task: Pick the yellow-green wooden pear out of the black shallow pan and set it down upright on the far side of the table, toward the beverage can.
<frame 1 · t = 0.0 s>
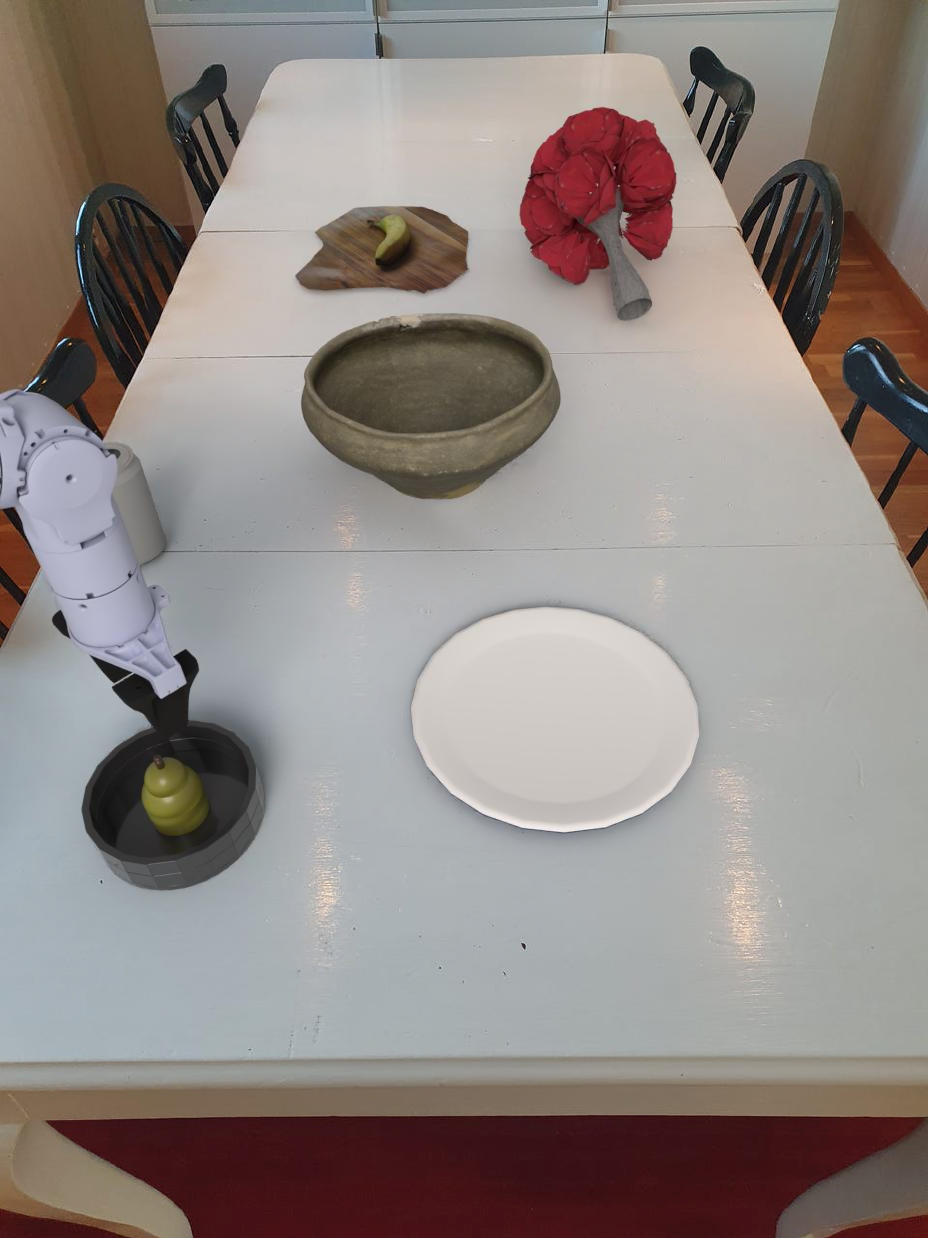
hand: (148, 701, 70), 9 cm above the table, tool pointing down, fingers open, 7 cm apart
cutting board: (387, 249, 149), on the table
plate: (553, 715, 80), on the table
bouquet: (596, 284, 139), on the table
beverage can: (138, 552, 97), on the table
bowl: (435, 472, 106), on the table
pear: (180, 811, 73), point 1 cm above the table, touching pan
pan: (182, 815, 73), on the table
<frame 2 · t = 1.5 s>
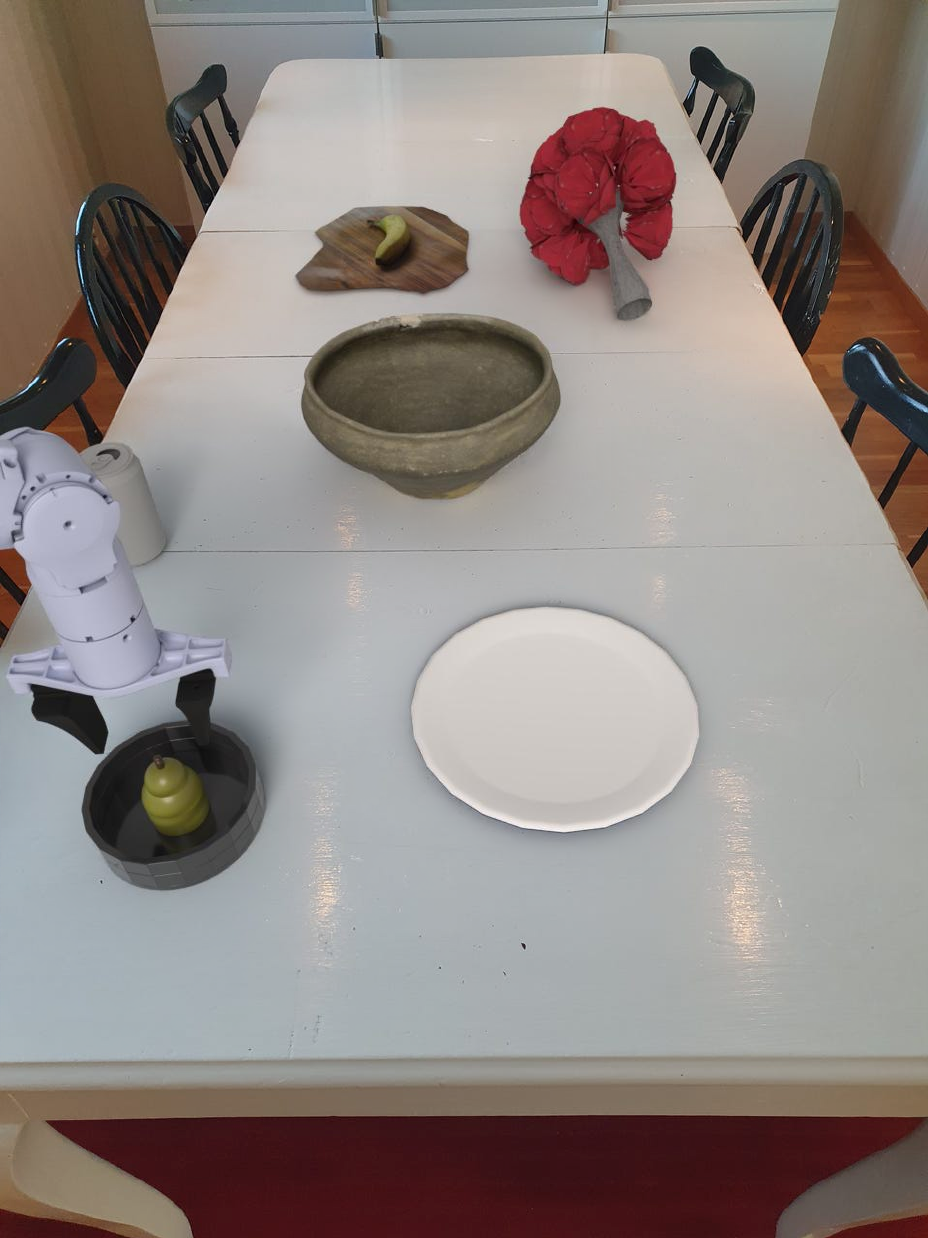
hand: (153, 739, 68), 9 cm above the table, tool pointing down, fingers open, 7 cm apart
nothing on the table moved.
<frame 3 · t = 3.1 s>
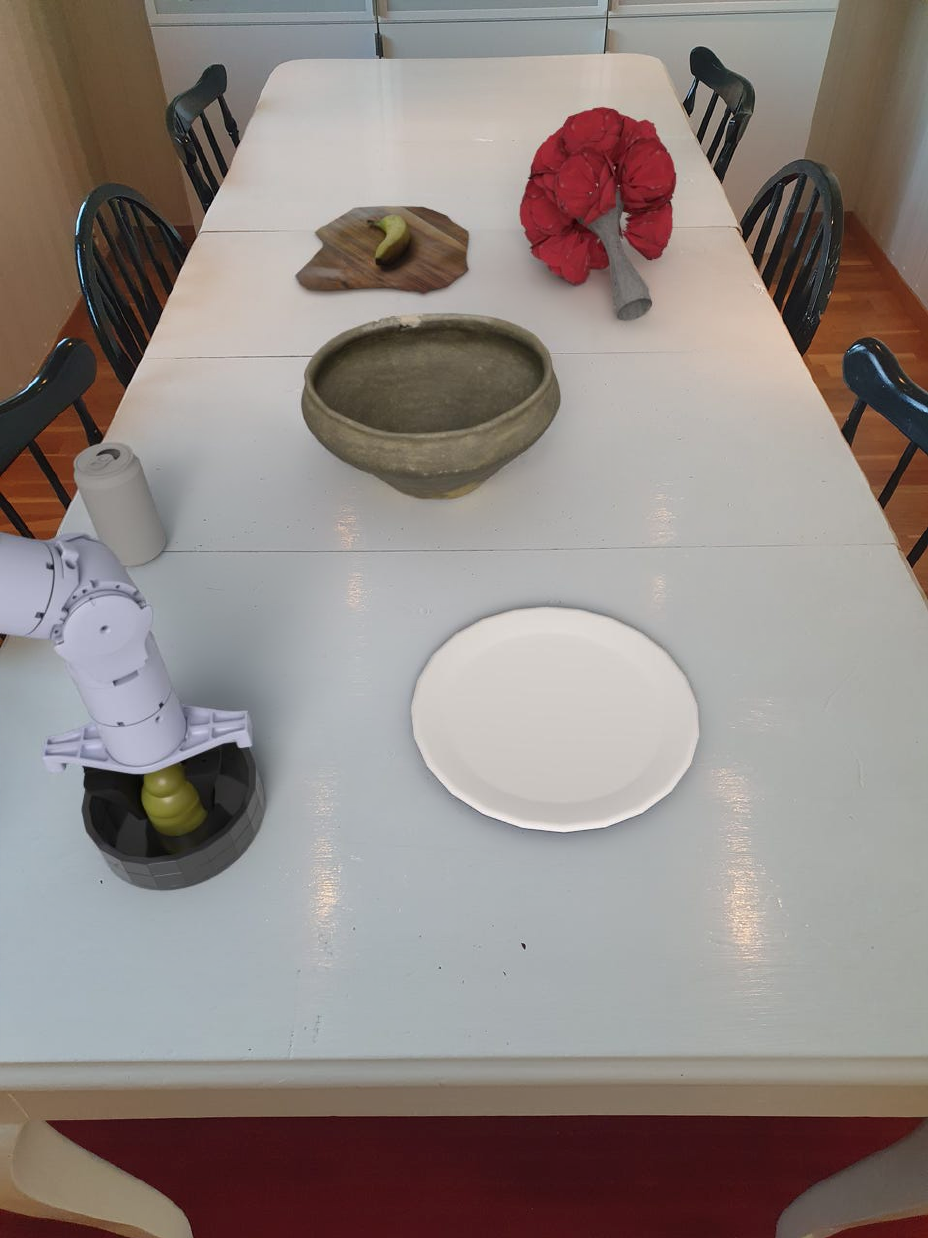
hand: (177, 804, 72), 2 cm above the table, tool pointing down, fingers closed on pear, 4 cm apart
pear: (180, 811, 73), point 1 cm above the table, touching gripper, pan
everything else where it was.
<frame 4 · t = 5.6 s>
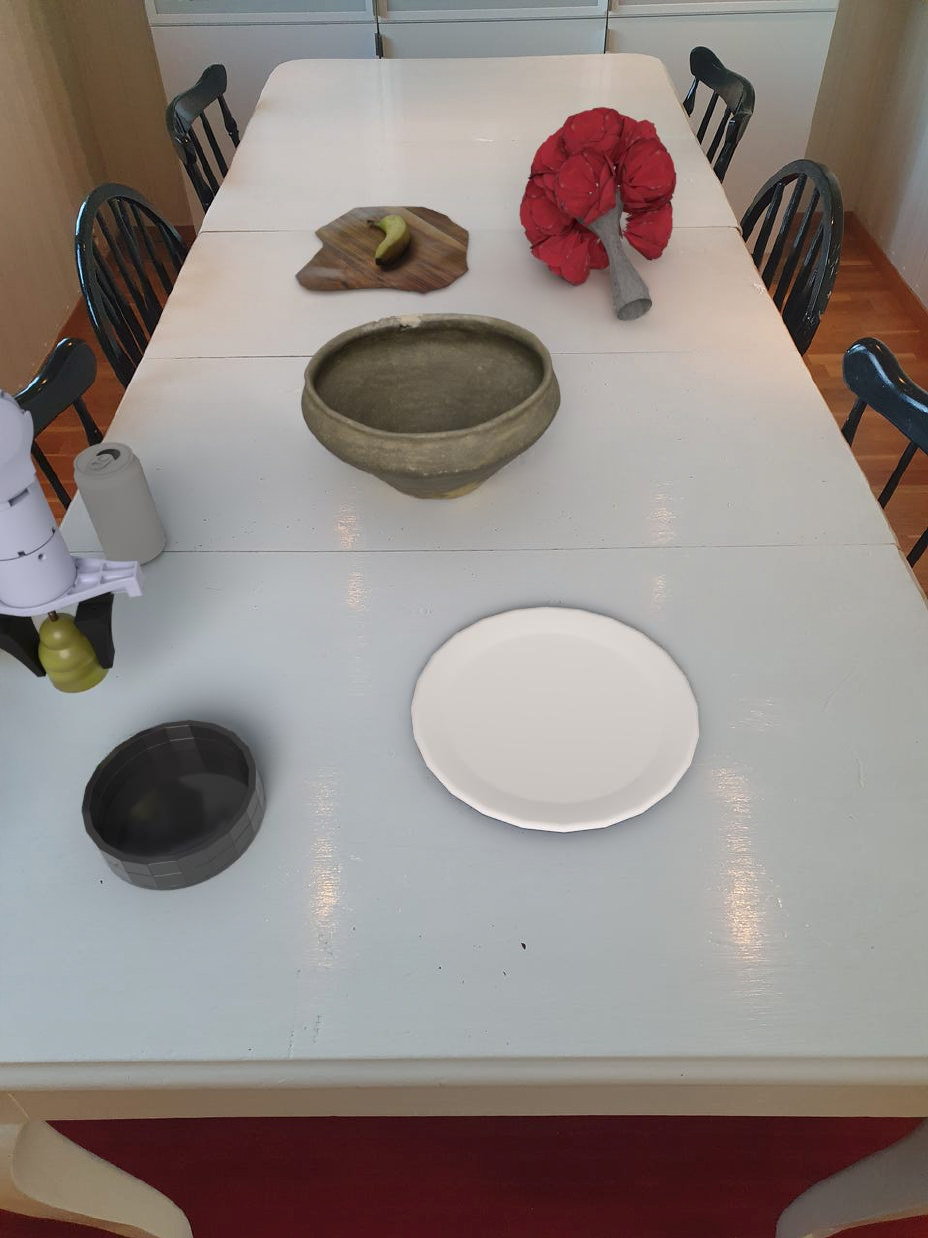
hand: (77, 663, 73), 9 cm above the table, tool pointing down, fingers closed on pear, 4 cm apart
pear: (80, 672, 74), point 8 cm above the table, touching gripper
everything else where it was.
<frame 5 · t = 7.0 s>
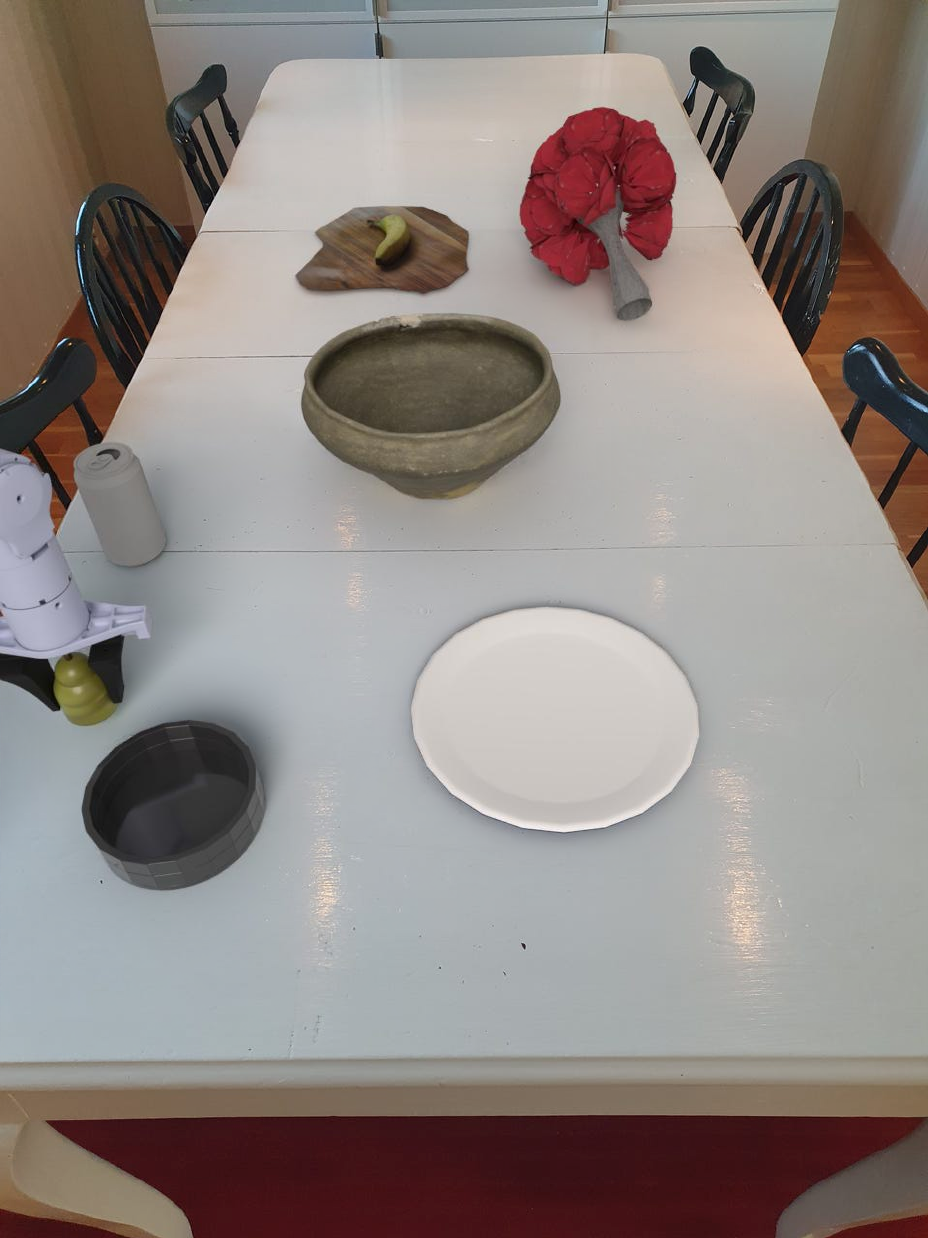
hand: (89, 698, 78), 3 cm above the table, tool pointing down, fingers closed on pear, 4 cm apart
pear: (92, 705, 79), point 2 cm above the table, touching gripper
everything else where it was.
when the fingers open (1 cm above the table, at t = 8.1 s): pear stays where it is, on the table.
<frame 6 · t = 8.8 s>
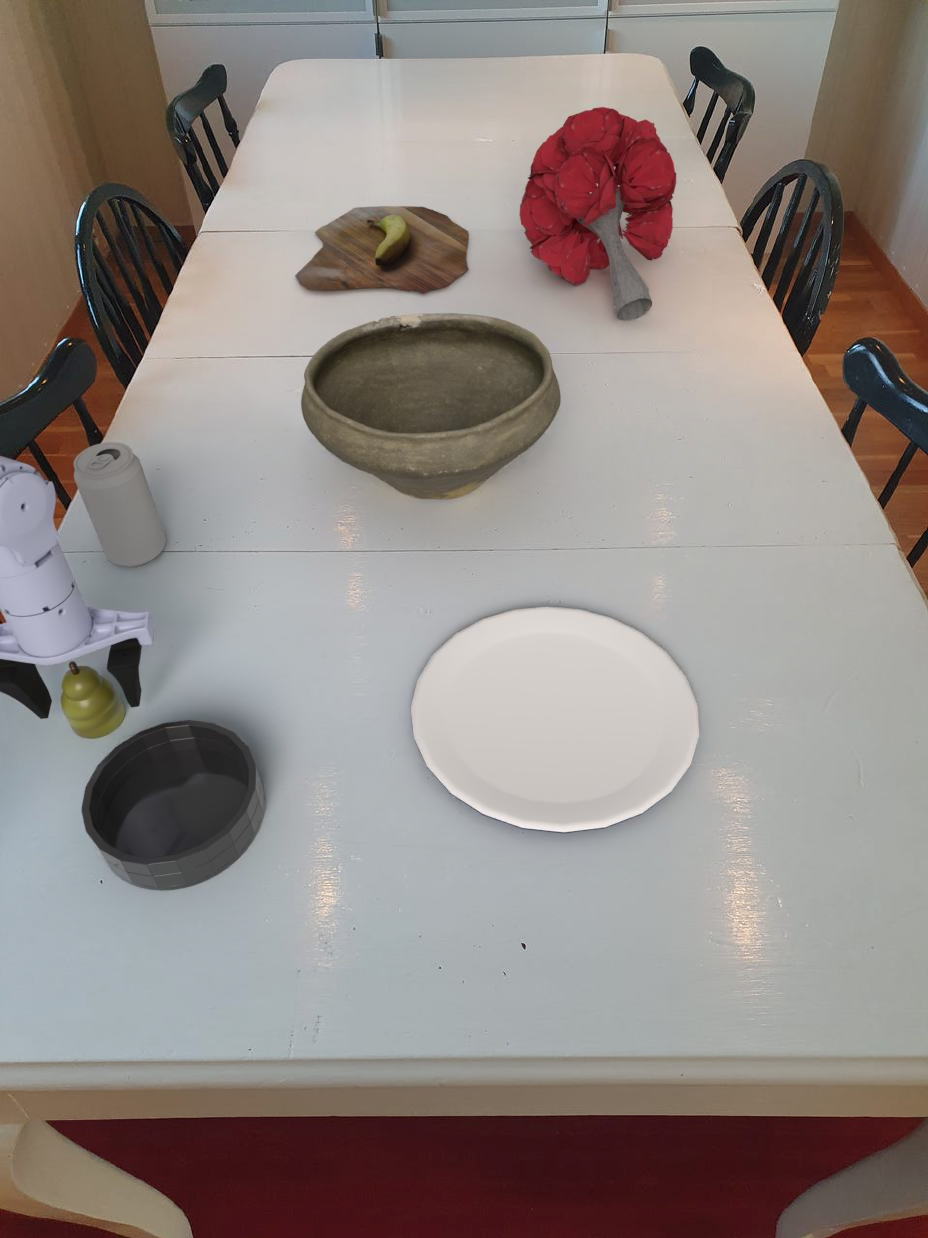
hand: (91, 704, 79), 2 cm above the table, tool pointing down, fingers open, 7 cm apart
pear: (98, 718, 80), on the table
everything else where it was.
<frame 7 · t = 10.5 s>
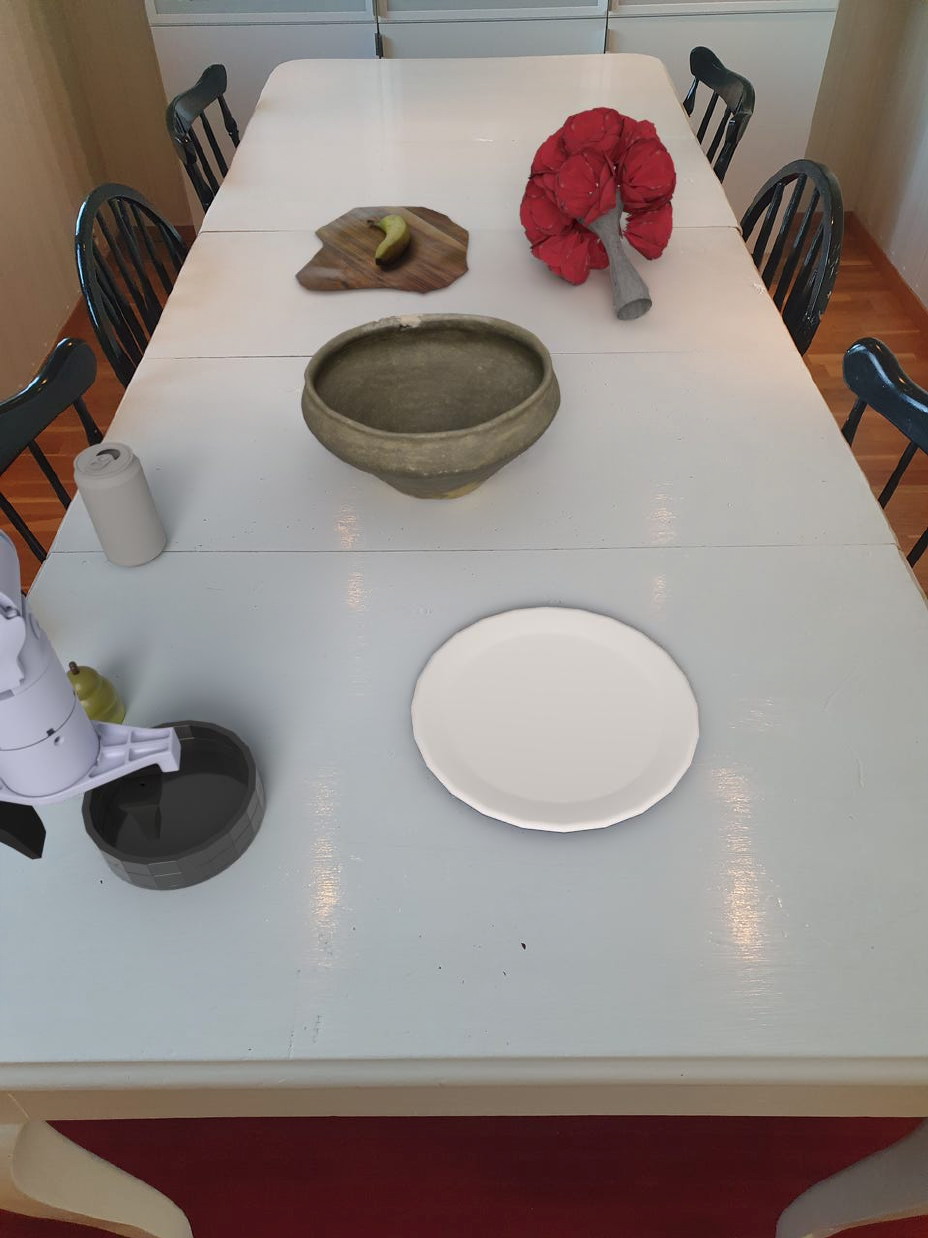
hand: (97, 837, 61), 9 cm above the table, tool pointing down, fingers open, 7 cm apart
nothing on the table moved.
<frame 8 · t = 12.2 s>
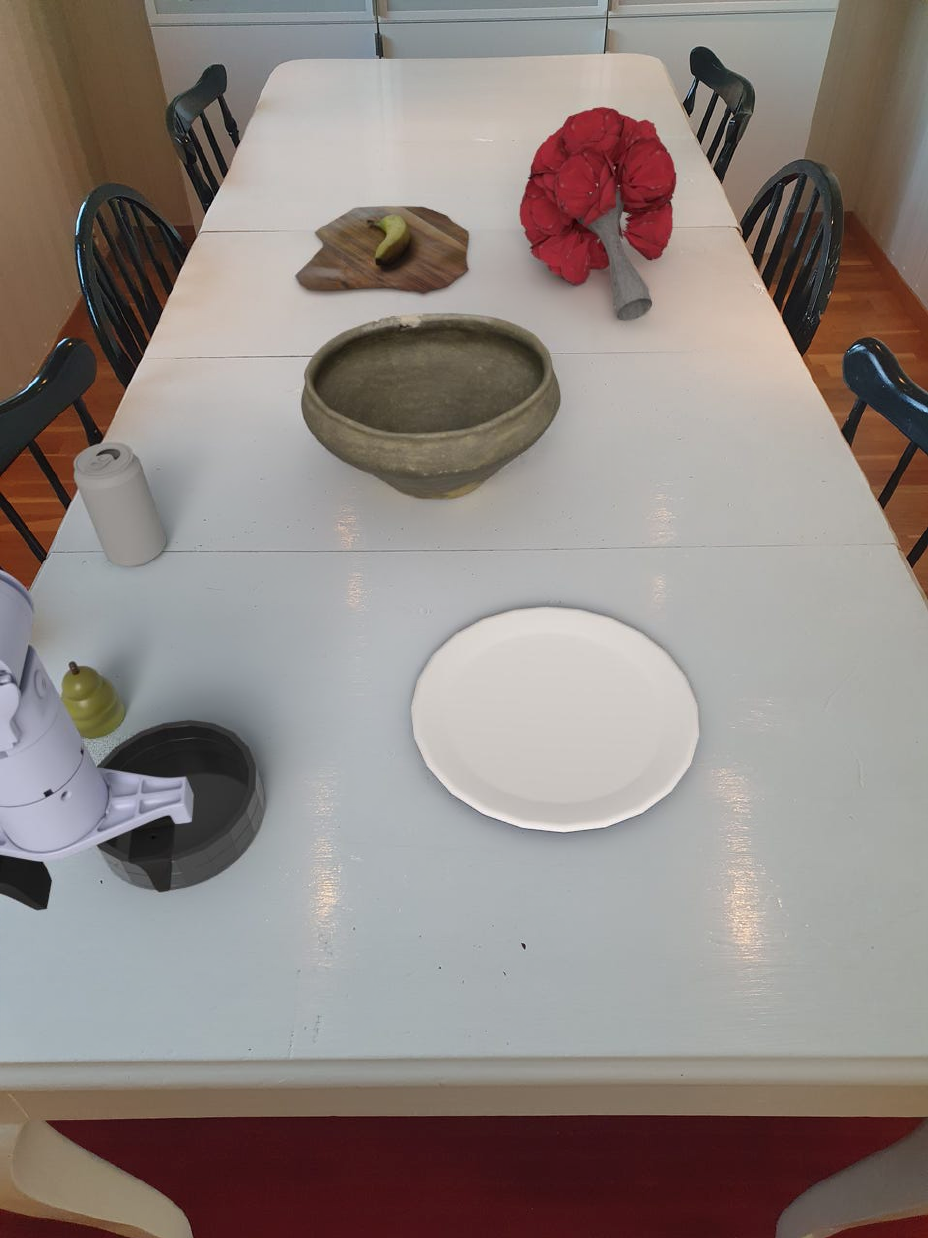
hand: (105, 886, 59), 9 cm above the table, tool pointing down, fingers open, 7 cm apart
nothing on the table moved.
at the end: pear inside the target area on the table beside the beverage can (0.1 cm from its centre), on the table; pear touching table; pear tilted 0° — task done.
